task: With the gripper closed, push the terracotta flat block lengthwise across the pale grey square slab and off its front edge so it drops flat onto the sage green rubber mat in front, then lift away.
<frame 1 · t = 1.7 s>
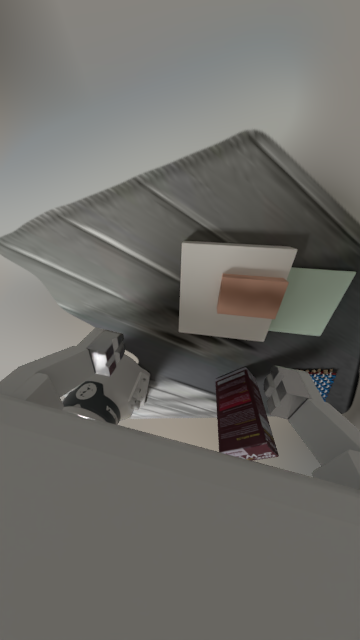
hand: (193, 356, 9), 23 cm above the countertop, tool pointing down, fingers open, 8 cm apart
supplement box: (235, 377, 42), on the countertop
woven mat: (301, 382, 40), on the countertop
mat: (302, 303, 30), on the countertop
pale grey square slab: (226, 291, 31), on the countertop
terracotta flat block: (247, 294, 27), point 3 cm above the countertop, touching pale grey square slab
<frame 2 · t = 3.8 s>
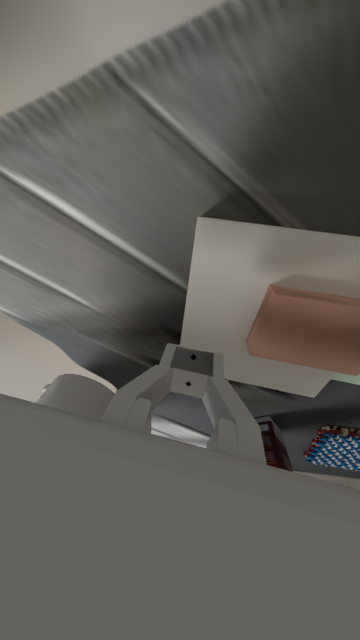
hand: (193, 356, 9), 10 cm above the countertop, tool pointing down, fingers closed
supplement box: (250, 425, 30), on the countertop
woven mat: (343, 440, 28), on the countertop
pale grey square slab: (261, 312, 18), on the countertop
terracotta flat block: (308, 325, 15), point 3 cm above the countertop, touching pale grey square slab
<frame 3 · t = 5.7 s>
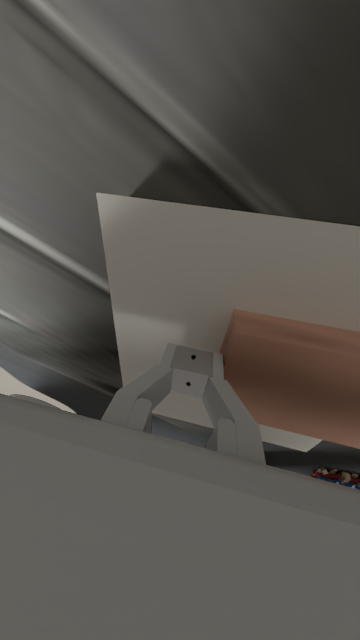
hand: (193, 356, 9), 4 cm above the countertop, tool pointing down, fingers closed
woven mat: (344, 481, 23), on the countertop
pale grey square slab: (234, 338, 13), on the countertop
terracotta flat block: (298, 368, 10), point 3 cm above the countertop, touching pale grey square slab, gripper
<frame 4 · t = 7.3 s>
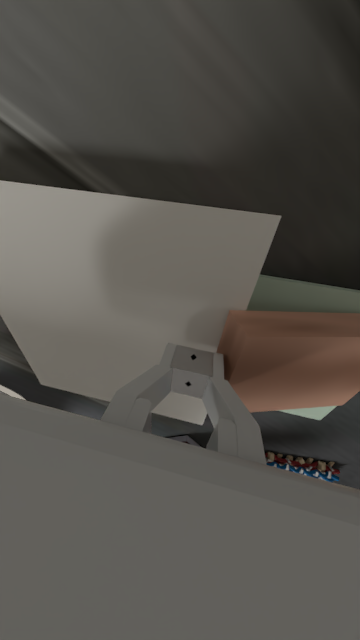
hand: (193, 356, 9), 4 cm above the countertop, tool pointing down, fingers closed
woven mat: (278, 463, 24), on the countertop
mat: (291, 359, 13), on the countertop
pale grey square slab: (125, 316, 14), on the countertop
terracotta flat block: (284, 352, 11), point 2 cm above the countertop, tilted 18°, touching gripper
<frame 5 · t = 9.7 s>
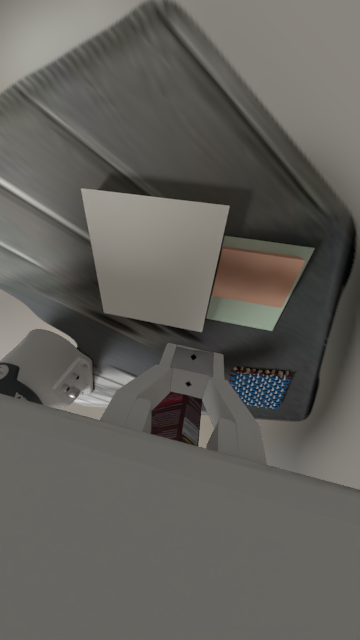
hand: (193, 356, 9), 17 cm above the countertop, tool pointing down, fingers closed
supplement box: (182, 371, 37), on the countertop
woven mat: (255, 383, 35), on the countertop
mat: (250, 287, 24), on the countertop
pale grey square slab: (158, 265, 25), on the countertop
terracotta flat block: (251, 274, 22), resting on mat
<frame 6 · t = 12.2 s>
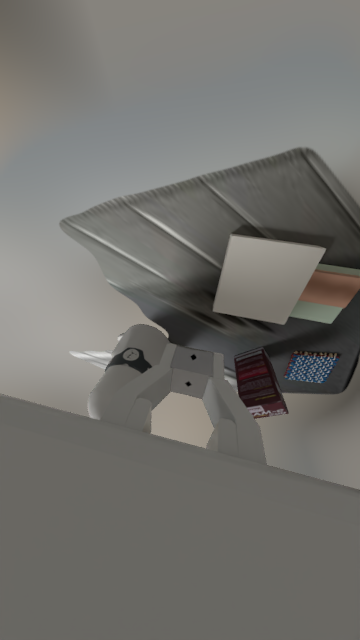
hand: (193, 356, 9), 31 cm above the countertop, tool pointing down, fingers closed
supplement box: (251, 356, 49), on the countertop
woven mat: (307, 363, 47), on the countertop
mat: (321, 294, 36), on the countertop
pale grey square slab: (257, 279, 37), on the countertop
terracotta flat block: (324, 286, 34), resting on mat
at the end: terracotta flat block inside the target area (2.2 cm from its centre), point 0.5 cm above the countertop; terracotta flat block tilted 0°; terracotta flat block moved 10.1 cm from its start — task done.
